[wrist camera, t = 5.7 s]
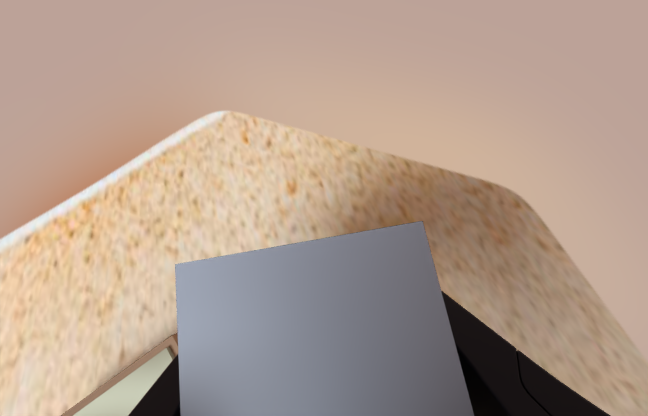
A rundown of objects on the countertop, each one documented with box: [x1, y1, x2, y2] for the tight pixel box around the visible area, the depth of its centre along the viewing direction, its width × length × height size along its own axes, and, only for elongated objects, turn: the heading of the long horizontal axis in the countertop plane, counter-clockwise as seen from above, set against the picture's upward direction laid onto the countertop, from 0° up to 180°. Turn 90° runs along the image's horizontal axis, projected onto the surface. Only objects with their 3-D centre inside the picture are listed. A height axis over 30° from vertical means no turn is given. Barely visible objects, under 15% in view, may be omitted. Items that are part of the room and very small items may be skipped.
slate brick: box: [175, 221, 474, 416], centre depth 10 cm, size 5×5×10 cm
